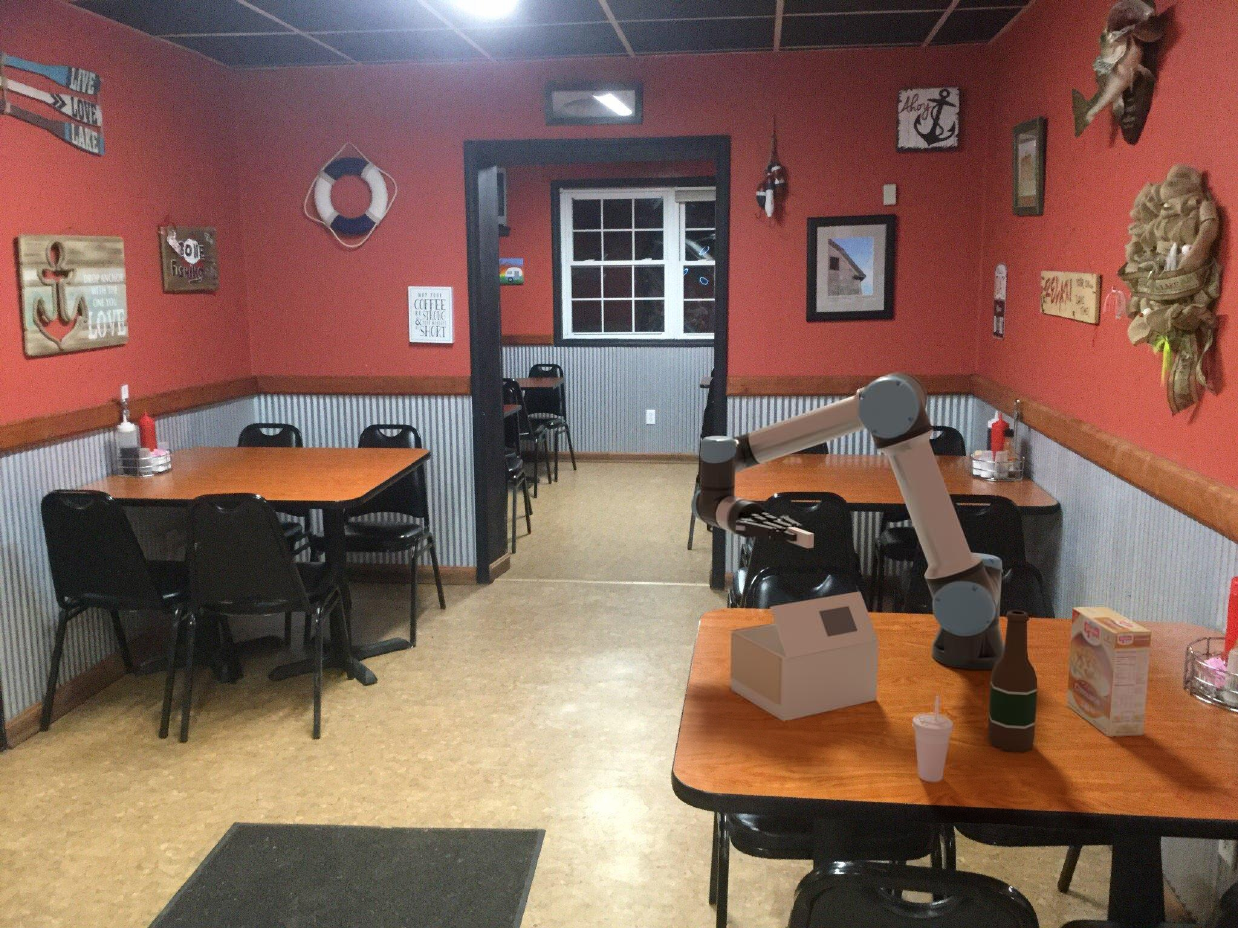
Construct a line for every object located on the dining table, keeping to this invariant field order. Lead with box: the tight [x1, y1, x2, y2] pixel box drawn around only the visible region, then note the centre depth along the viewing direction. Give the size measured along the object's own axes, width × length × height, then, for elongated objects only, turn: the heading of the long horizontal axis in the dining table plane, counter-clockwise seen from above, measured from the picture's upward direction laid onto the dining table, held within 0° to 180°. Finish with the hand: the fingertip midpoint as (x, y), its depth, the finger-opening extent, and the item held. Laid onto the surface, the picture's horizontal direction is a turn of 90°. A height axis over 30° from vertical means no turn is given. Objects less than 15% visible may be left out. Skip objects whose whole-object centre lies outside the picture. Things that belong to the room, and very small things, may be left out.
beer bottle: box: [987, 609, 1038, 754], centre depth 185 cm, size 8×8×24 cm
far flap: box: [769, 591, 879, 659], centre depth 202 cm, size 10×21×1 cm
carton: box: [729, 622, 880, 722], centre depth 210 cm, size 19×23×12 cm
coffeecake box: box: [1065, 606, 1152, 738], centre depth 196 cm, size 15×7×20 cm, turn 5°
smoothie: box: [911, 694, 954, 783], centre depth 174 cm, size 6×6×14 cm
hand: (810, 540), depth 204 cm, fingers closed
